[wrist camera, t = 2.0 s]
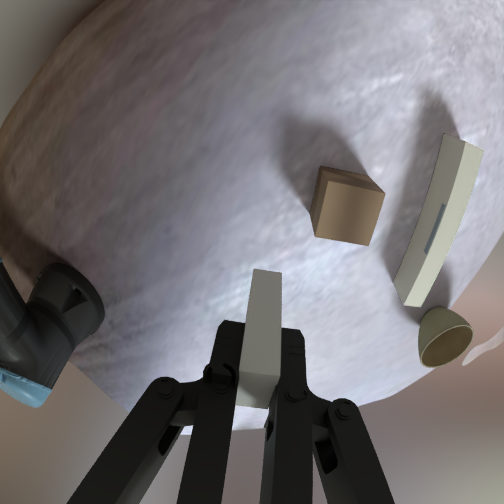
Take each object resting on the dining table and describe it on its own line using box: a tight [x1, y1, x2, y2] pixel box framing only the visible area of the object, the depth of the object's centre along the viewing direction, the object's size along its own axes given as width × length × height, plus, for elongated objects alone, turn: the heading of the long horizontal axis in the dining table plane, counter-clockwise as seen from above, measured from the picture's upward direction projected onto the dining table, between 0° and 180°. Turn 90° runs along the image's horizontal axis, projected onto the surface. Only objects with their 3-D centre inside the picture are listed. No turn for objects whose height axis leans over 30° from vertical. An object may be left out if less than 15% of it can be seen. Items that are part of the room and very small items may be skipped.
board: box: [393, 133, 484, 307], centre depth 30 cm, size 3×22×5 cm, turn 173°
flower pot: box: [418, 307, 474, 368], centre depth 38 cm, size 10×10×7 cm
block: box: [310, 166, 385, 246], centre depth 30 cm, size 6×6×6 cm
